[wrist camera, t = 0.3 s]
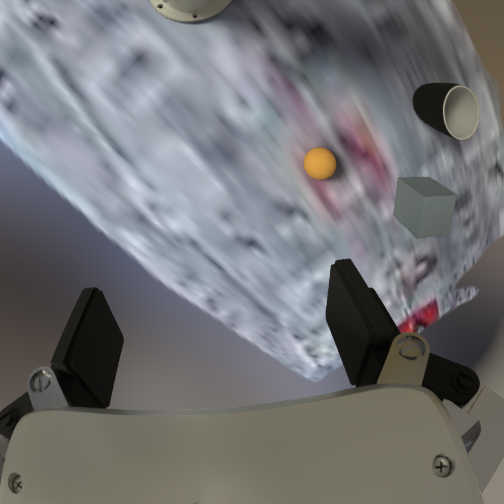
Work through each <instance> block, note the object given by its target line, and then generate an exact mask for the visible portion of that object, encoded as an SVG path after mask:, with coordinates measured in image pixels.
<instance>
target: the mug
mask: <svg viewBox="0 0 504 504" xmlns="http://www.w3.org/2000/svg"><path fill="white" fill-rule="evenodd" d="M413 107H414V110H415V112H416V114H417V115H418V116H419V118H420V119H421V120H423V121H424V122H425V123H427V124H428V125H430V126H431V127H433V128H435V129H436V130H438V131H440V132H442V133H444V134H446V135H448V136H450V137H453V138H455V139H458V140H466V139H468V138H470V137H471V136H472V135H473V134H474V133H475V131H476V129H477V127H478V124H479V120H480V108H479V103H478V100H477V98H476V96H475V95H474V93H473V92H472V91H471V90H470V89H469V88H468V87H466V86H463V85H459V84H452V83H430V84H425V85H422V86H421V87H419V88H418V89H417V90H416V92H415V93H414V96H413Z"/></svg>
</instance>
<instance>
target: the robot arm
mask: <svg viewBox="0 0 504 504" xmlns="http://www.w3.org/2000/svg"><path fill="white" fill-rule="evenodd" d="M231 1H232V0H150V2H151V4H152V6H153V7H154V8H155V9H156V11H157V12H159V13H160V14H161V15H163V16H164V17H166V18H168V19H171V20H173V21H178V22H197V21H202V20H205V19H208V18H211V17H213V16H215V15H217V14H218V13H220V12H221V11H223V10H224V9H225V8H226V7H227V6H228V5H229V4H230V2H231ZM161 6H163V7H162V8H161V9H160V7H161ZM194 16H197V18H194ZM326 321H327V324H328V326H329V329H330V331H331V334H332V336H333V339H334V341H335V344H336V347H337V349H338V352H339V354H340V357H341V360H342V362H343V365H344V367H345V370H346V373H347V376H348V378H349V381H350V383H351V384H352V385H356V388H351V389H345V390H341V391H337V392H331V393H326V394H320V395H315V396H309V397H303V398H298V399H291V400H285V401H279V402H272V403H263V404H256V405H247V406H236V407H226V408H212V409H194V410H119V409H106V407H109V405H110V400H111V395H112V391H113V386H114V381H115V377H116V372H117V368H118V363H119V358H120V355H121V351H122V347H123V343H124V339H123V334H122V332H121V331H120V328H119V326H118V324H117V322H116V320H115V318H114V316H113V314H112V312H111V310H110V308H109V306H108V304H107V301H106V299H105V297H104V295H103V292H102V291H99V290H98V288H95V287H93V288H85V289H83V290H82V292H81V295H80V297H79V299H78V301H77V303H76V305H75V307H74V309H73V311H72V313H71V316H70V318H69V320H68V322H67V325H66V327H65V329H64V331H63V333H62V336H61V338H60V341H59V343H58V345H57V348H56V350H55V353H54V355H53V358H52V360H51V363H52V365H51V368H49V367H40V368H38V369H36V370H35V371H33V372H32V373H31V375H30V376H29V378H28V381H27V390H28V391H27V392H26V393H25V394H23V395H22V396H21V397H19V398H18V399H16V400H15V401H14V402H12V403H11V404H10V405H8V406H7V407H6V408H4V409H3V410H2V411H1V412H0V504H484V502H483V498H482V494H481V493H482V492H483V490H484V489H485V487H486V486H487V484H488V483H489V481H490V479H491V477H492V476H493V474H494V473H495V471H496V470H497V468H498V466H499V464H500V463H501V460H502V459H503V457H504V399H503V398H502V397H500V396H499V395H498V394H496V393H495V392H493V391H492V390H491V389H489V388H488V387H487V386H484V388H483V387H481V386H480V382H479V378H478V376H477V374H476V373H475V372H474V371H473V370H471V369H470V368H468V367H465V366H463V365H460V364H458V363H455V362H452V361H450V360H447V359H444V358H442V357H439V356H437V355H434V354H432V353H429V352H430V348H429V345H428V343H427V341H426V340H425V339H424V338H423V337H422V336H420V335H418V334H416V333H411V332H405V333H402V334H401V333H400V331H399V329H398V328H397V326H396V324H395V323H394V321H393V319H392V318H391V316H390V314H389V313H388V311H387V309H386V308H385V306H384V304H383V303H382V301H381V299H380V298H379V296H378V295H377V293H376V291H375V290H374V289H373V288H369V287H368V286H367V284H366V283H365V281H364V279H363V278H362V276H361V275H360V273H359V271H358V270H357V268H356V267H355V265H354V264H353V262H352V261H351V259H342V260H336V261H335V264H332V265H331V269H330V279H329V289H328V298H327V306H326Z"/></svg>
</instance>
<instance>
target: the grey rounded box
mask: <svg viewBox="0 0 504 504" xmlns="http://www.w3.org/2000/svg"><path fill="white" fill-rule="evenodd" d="M456 197H457V195H456V194H454V193H453V192H451V191H450V190H448V189H447V188H445V187H444V186H442V185H441V184H439V183H438V182H436V181H435V180H433V179H432V178H430V177H411V178H398V182H397V191H396V200H395V208H394V215H393V216H394V217H396V218H397V219H398V220H399V221H400V222H401V223H402V224H403V225H404V226H405V227H406V228H407V229H408V230H409V231H410V232H411V233H412V234H413V235H414V236H415V237H416V238H424V237H431V236H438V235H444V234H448V233H449V229H450V225H451V221H452V216H453V212H454V207H455V202H456Z"/></svg>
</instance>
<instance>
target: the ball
mask: <svg viewBox="0 0 504 504" xmlns="http://www.w3.org/2000/svg"><path fill="white" fill-rule="evenodd" d="M304 168H305V170H306V172H307V173H308V174H309V175H310V176H311V177H312V178H315V179H318V180H323V179H327V178H329V177H330V176H331V175H332V174H333V173H334V171H335V169H336V159H335V157H334V155H333V154H332V153H331V152H330V151H329V150H327V149H325V148H314V149H312V150H310V151H309V152H308V153H307V154H306V156H305V159H304Z"/></svg>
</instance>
